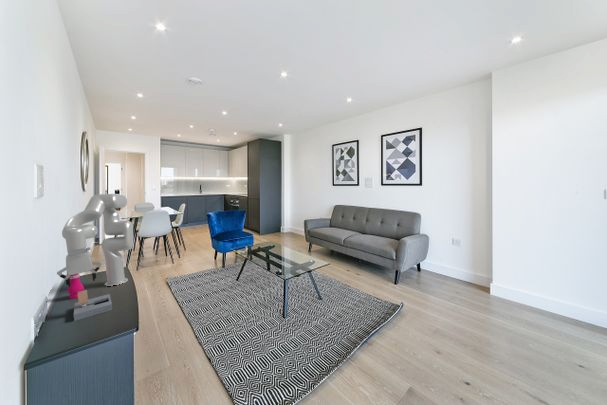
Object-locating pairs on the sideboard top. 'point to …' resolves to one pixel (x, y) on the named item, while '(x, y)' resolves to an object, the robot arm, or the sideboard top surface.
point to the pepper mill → (75, 286)
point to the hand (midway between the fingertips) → (82, 282)
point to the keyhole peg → (83, 298)
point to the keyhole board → (92, 307)
